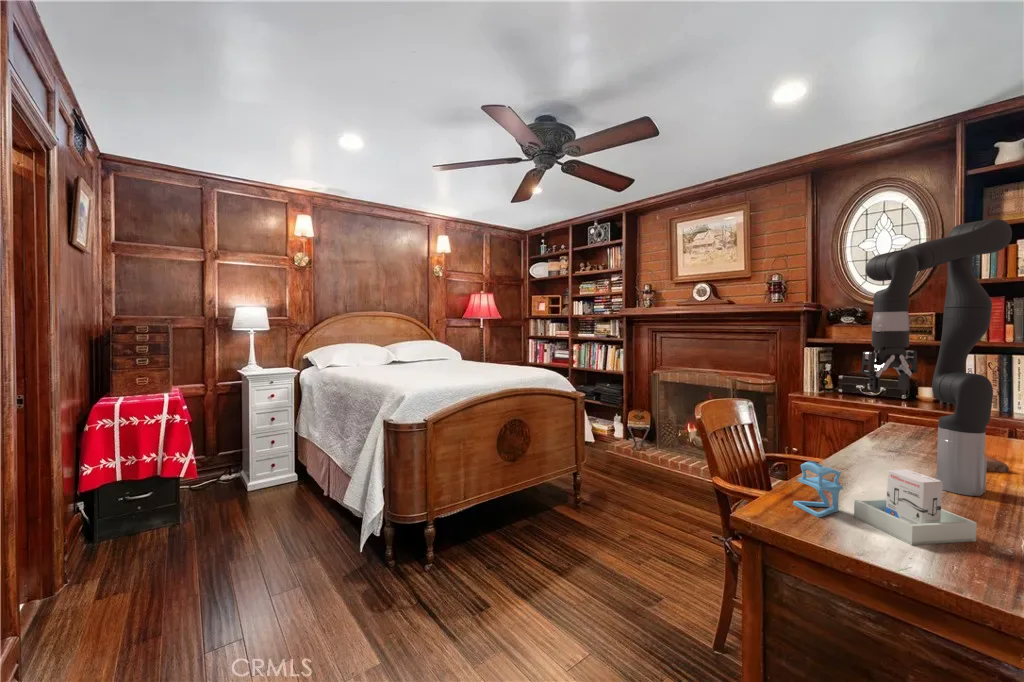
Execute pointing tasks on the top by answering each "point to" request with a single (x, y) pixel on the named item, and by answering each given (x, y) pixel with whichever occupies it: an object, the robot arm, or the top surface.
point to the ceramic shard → (995, 465)
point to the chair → (820, 488)
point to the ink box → (914, 497)
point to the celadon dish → (916, 525)
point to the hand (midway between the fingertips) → (889, 390)
